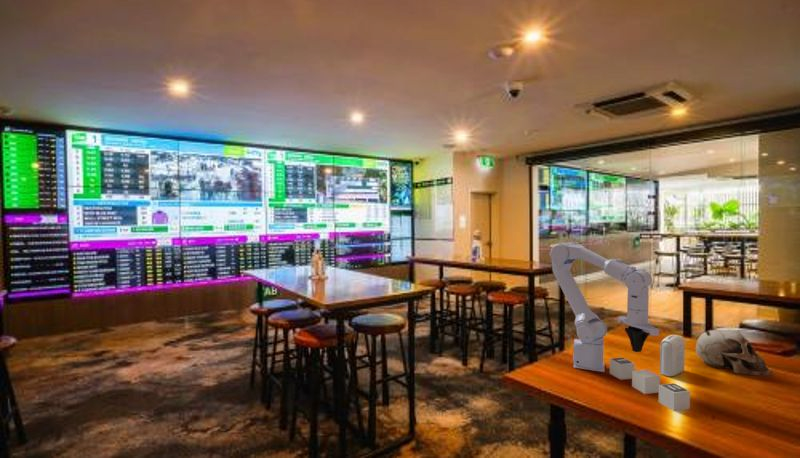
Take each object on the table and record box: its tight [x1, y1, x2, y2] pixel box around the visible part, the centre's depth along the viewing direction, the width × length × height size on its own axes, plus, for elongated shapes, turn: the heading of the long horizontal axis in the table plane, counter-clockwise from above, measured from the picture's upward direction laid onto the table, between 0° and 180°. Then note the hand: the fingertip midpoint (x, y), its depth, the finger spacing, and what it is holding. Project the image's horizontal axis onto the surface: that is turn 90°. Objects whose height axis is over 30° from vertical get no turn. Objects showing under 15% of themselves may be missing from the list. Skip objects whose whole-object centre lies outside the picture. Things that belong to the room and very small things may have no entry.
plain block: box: [631, 369, 661, 395], centre depth 120 cm, size 5×5×5 cm
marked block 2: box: [658, 383, 691, 412], centre depth 110 cm, size 5×5×5 cm
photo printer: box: [659, 334, 686, 377], centre depth 132 cm, size 10×4×12 cm, turn 123°
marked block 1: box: [609, 357, 635, 380], centre depth 130 cm, size 5×5×5 cm
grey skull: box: [695, 329, 773, 377], centre depth 136 cm, size 16×17×13 cm
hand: (636, 351), depth 126 cm, fingers closed
